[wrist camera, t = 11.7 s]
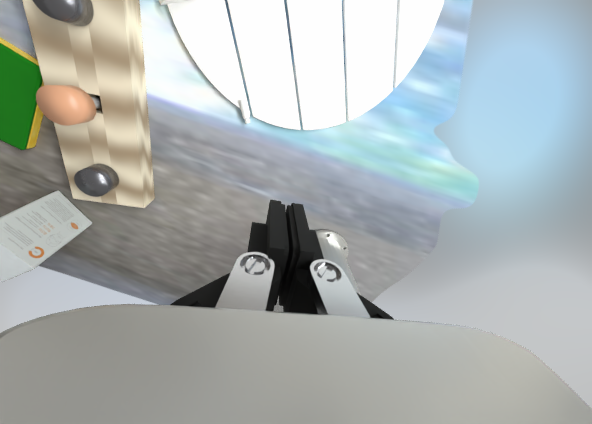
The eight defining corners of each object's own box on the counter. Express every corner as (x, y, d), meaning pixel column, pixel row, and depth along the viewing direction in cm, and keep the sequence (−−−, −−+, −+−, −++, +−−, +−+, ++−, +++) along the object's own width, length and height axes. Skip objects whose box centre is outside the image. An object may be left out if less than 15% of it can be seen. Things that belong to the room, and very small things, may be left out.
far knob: (132, 182, 42) (109, 198, 36) (105, 178, 41) (77, 194, 35) (130, 159, 40) (105, 172, 34) (101, 154, 39) (70, 166, 33)
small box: (31, 202, 42) (-58, 244, 31) (58, 189, 42) (-22, 227, 30) (68, 235, 46) (1, 283, 35) (94, 223, 46) (34, 269, 34)
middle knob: (115, 121, 35) (83, 128, 29) (82, 115, 34) (42, 121, 28) (111, 89, 33) (75, 89, 27) (75, 81, 32) (30, 80, 26)
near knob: (115, 36, 32) (78, 25, 26) (79, 27, 31) (33, 13, 25) (109, -5, 30) (69, -27, 24) (71, -15, 29) (19, -41, 23)
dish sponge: (56, 70, 34) (42, 69, 32) (37, 147, 39) (23, 151, 36) (-4, 34, 31) (-24, 30, 29) (-17, 121, 36) (-35, 123, 34)
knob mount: (154, 198, 44) (144, 208, 41) (89, 189, 42) (73, 198, 39) (137, -24, 30) (119, -38, 26) (37, -53, 28) (3, -73, 24)
